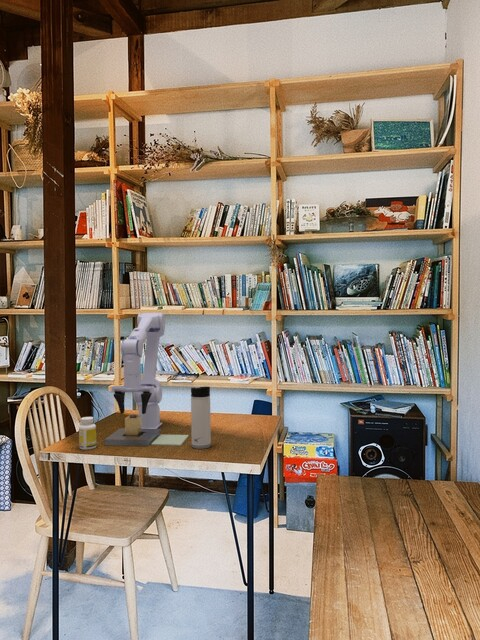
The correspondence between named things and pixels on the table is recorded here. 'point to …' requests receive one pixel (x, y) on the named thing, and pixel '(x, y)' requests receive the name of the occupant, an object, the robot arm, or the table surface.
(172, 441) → the mat
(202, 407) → the travel mug
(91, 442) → the supplement bottle
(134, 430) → the end cover
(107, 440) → the square plate with hole
